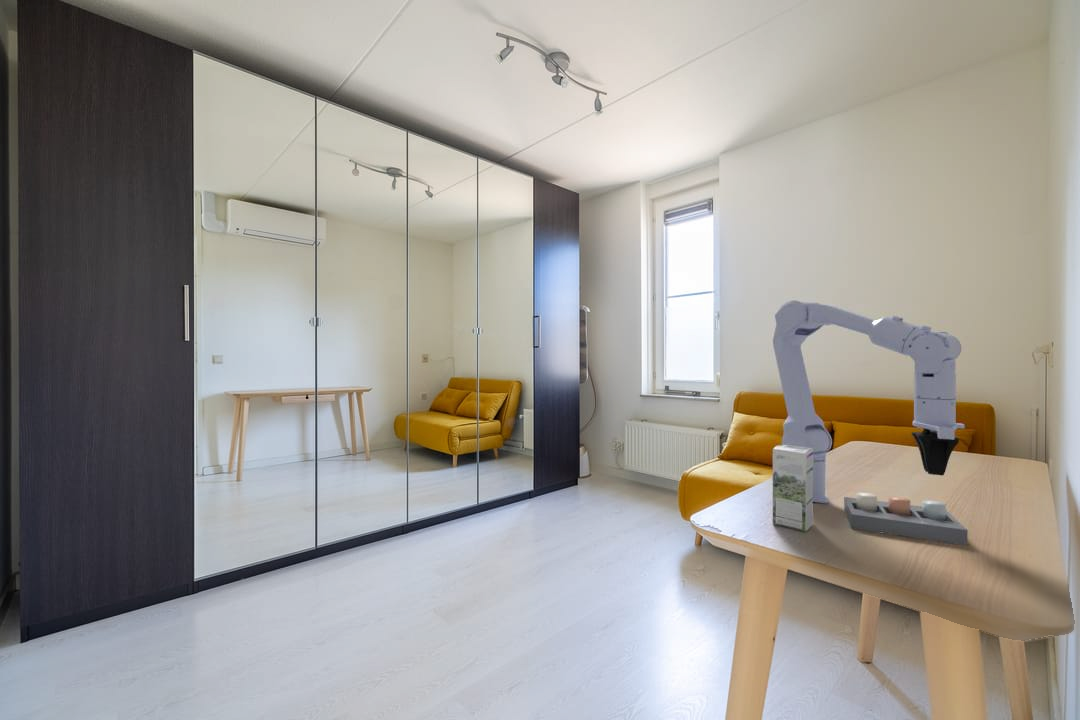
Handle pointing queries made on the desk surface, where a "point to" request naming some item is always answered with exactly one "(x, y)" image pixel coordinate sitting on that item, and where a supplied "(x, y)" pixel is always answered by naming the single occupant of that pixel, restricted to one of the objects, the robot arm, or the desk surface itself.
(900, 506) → the terracotta key
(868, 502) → the ivory key
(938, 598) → the desk surface
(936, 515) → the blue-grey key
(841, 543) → the desk surface
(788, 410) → the robot arm
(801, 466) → the syrup box
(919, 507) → the grey compartment tray
